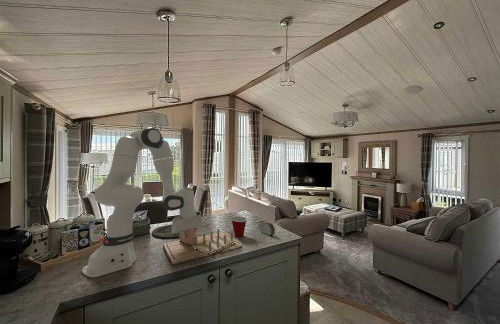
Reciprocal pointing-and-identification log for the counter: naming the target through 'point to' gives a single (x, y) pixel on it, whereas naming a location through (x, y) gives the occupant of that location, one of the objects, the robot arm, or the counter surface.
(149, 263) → the counter surface
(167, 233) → the decorative plate
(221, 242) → the dish rack
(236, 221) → the plastic cup
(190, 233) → the terracotta tile
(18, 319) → the counter surface
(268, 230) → the tin
